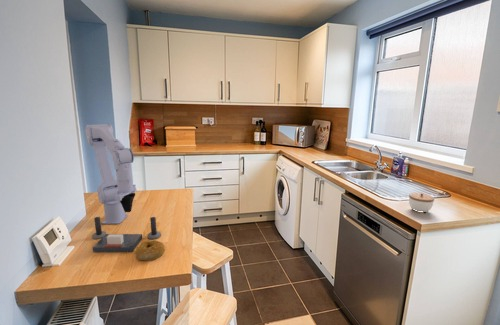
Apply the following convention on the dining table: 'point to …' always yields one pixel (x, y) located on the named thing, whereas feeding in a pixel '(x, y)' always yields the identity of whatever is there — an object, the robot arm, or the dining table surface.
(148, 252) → the bagel
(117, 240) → the breaker paddle
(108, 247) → the breaker block
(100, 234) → the cable post
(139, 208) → the dining table surface
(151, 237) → the cable post
